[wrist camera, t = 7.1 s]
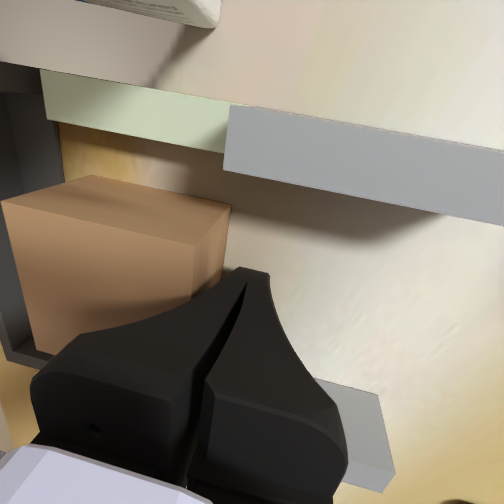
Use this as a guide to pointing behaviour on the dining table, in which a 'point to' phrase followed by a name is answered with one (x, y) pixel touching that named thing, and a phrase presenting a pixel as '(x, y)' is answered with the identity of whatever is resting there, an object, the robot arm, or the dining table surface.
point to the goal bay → (136, 110)
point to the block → (110, 254)
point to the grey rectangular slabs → (374, 188)
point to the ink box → (170, 10)
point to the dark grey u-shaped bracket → (18, 183)
